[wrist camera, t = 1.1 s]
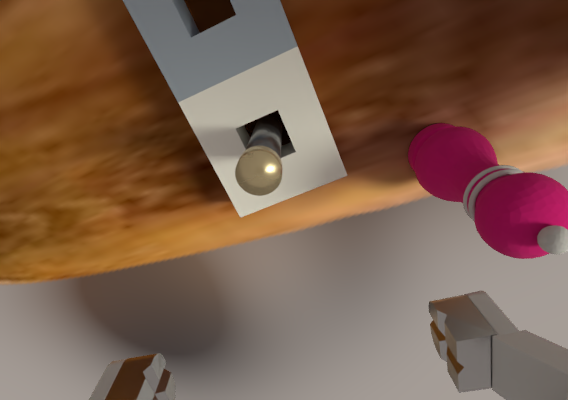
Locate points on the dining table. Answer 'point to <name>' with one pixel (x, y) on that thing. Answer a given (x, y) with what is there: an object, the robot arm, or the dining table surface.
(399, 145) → the dining table surface
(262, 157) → the lock pin
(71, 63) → the dining table surface
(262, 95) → the pin board
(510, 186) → the pepper mill
